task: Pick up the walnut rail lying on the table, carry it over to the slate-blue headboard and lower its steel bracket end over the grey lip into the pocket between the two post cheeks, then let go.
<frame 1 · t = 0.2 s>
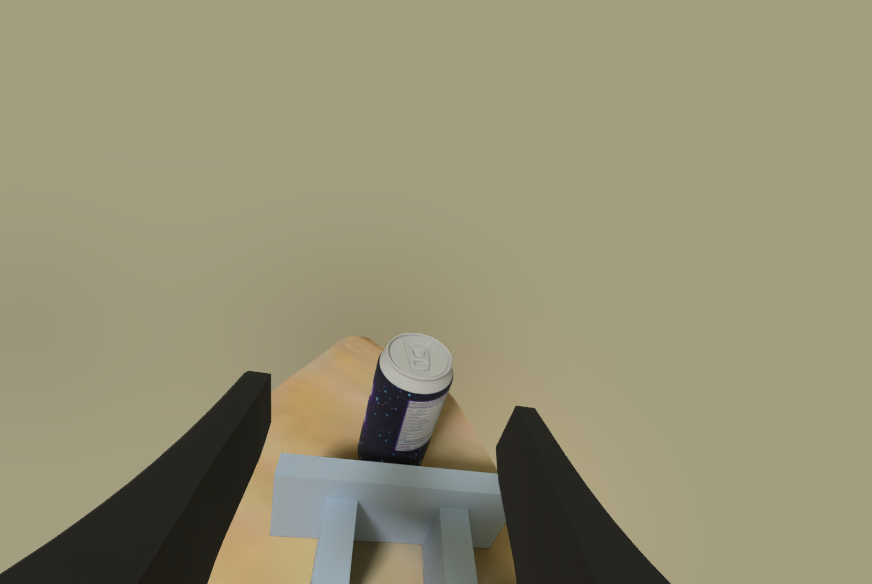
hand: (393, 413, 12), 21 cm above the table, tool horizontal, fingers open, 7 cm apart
beverage can: (388, 458, 35), on the table
headboard: (385, 542, 29), on the table
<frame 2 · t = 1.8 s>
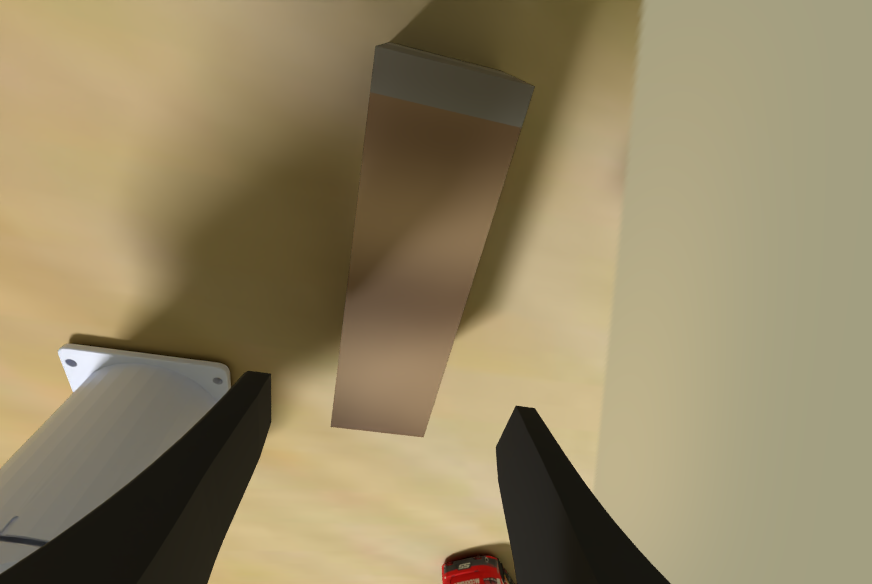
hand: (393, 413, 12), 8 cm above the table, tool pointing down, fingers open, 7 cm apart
race car: (484, 576, 38), on the table
rail: (409, 236, 18), on the table
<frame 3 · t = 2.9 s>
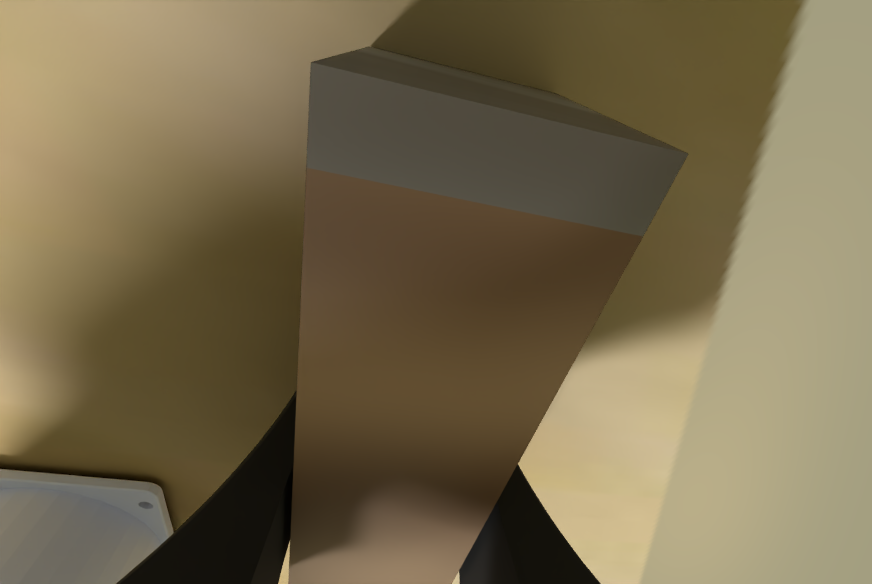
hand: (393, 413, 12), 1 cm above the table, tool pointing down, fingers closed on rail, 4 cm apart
rail: (406, 331, 12), on the table, touching gripper
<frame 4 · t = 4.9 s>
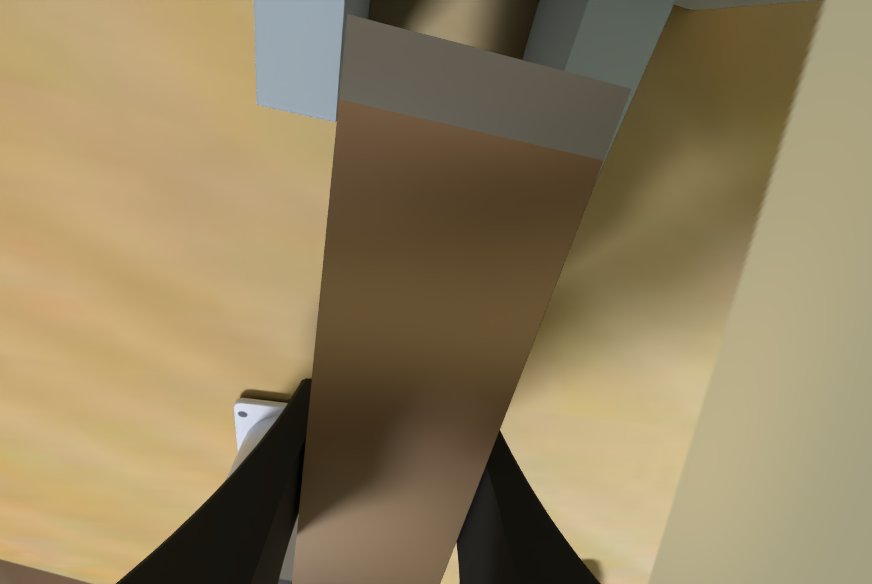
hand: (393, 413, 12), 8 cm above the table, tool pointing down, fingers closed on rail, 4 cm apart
rail: (407, 312, 13), point 6 cm above the table, tilted 7°, touching gripper
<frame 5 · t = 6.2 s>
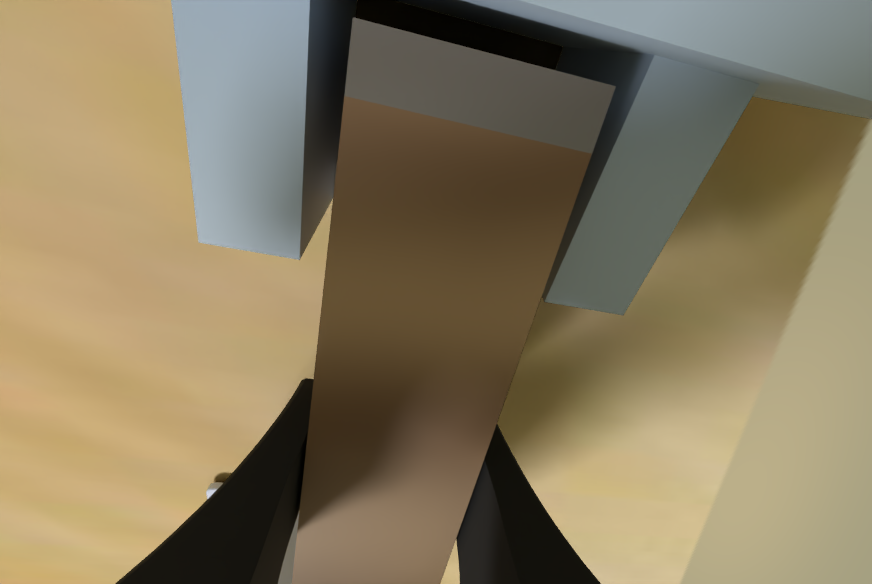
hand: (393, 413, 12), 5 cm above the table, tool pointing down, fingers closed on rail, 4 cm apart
rail: (406, 313, 13), point 2 cm above the table, tilted 9°, touching gripper, headboard
headboard: (464, 19, 10), on the table
when the fingers open (3 cm above the table, at t = 7.0 s): rail stays where it is, resting on headboard.
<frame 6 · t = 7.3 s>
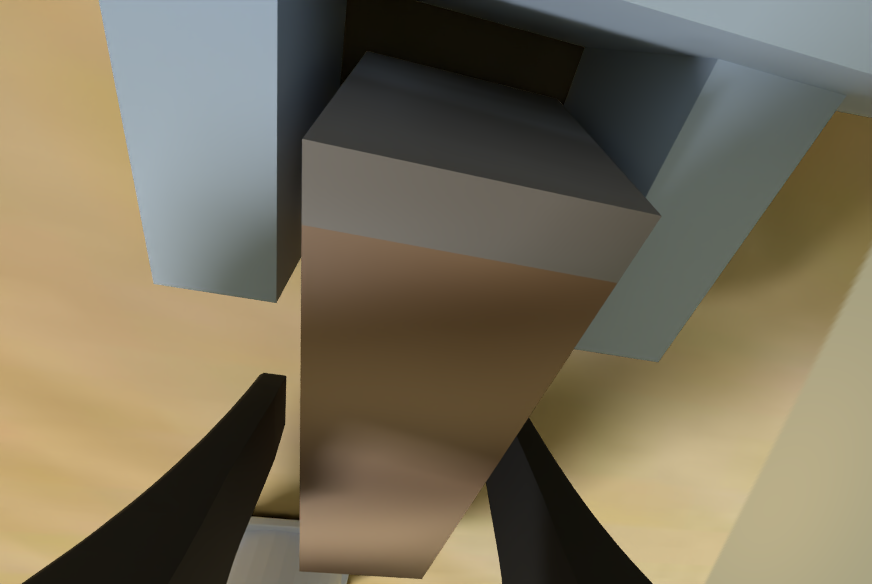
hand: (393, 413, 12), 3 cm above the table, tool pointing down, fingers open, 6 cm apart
rail: (406, 318, 12), point 1 cm above the table, tilted 7°, touching headboard
headboard: (471, 16, 9), on the table
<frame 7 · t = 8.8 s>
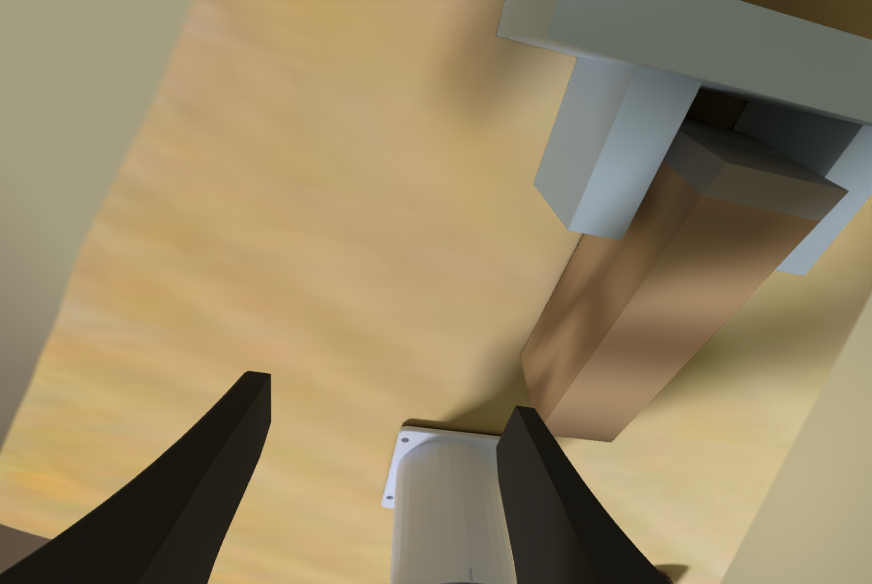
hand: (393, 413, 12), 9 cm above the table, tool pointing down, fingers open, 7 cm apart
rail: (608, 268, 19), point 1 cm above the table, tilted 7°, touching headboard
headboard: (688, 85, 16), on the table
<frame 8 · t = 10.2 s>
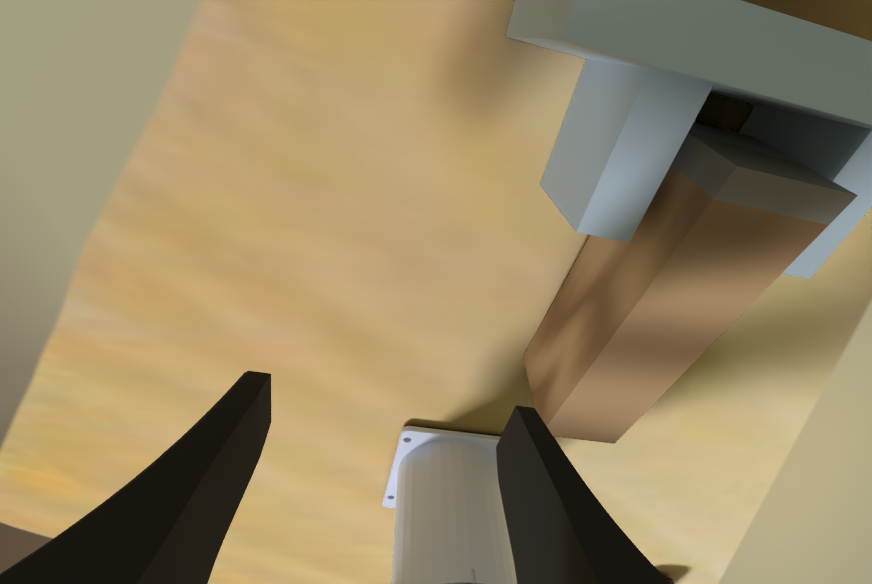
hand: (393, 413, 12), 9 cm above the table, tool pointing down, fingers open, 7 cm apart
rail: (612, 270, 19), point 1 cm above the table, tilted 7°, touching headboard
headboard: (696, 88, 16), on the table
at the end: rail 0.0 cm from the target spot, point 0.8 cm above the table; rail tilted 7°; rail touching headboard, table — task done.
